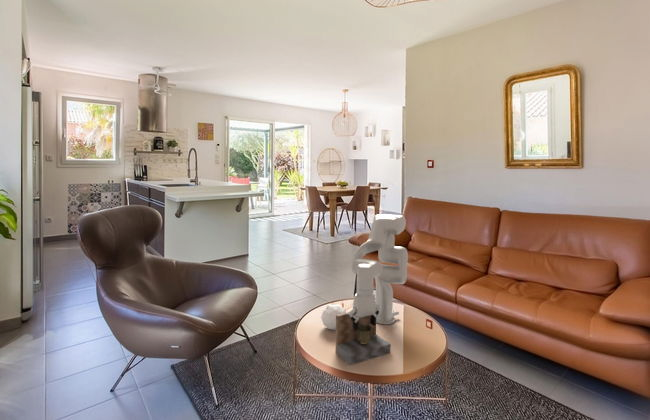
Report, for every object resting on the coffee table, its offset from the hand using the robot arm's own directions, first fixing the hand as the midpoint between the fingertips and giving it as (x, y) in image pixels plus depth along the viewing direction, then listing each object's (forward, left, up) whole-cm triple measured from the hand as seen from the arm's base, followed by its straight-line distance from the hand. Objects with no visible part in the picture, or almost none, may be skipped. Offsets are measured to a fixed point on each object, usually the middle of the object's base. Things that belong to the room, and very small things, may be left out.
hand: (364, 327), depth 166 cm
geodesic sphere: (-1, -29, -13) cm, 31 cm away
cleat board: (0, 0, -12) cm, 12 cm away
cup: (+1, 0, -8) cm, 8 cm away
